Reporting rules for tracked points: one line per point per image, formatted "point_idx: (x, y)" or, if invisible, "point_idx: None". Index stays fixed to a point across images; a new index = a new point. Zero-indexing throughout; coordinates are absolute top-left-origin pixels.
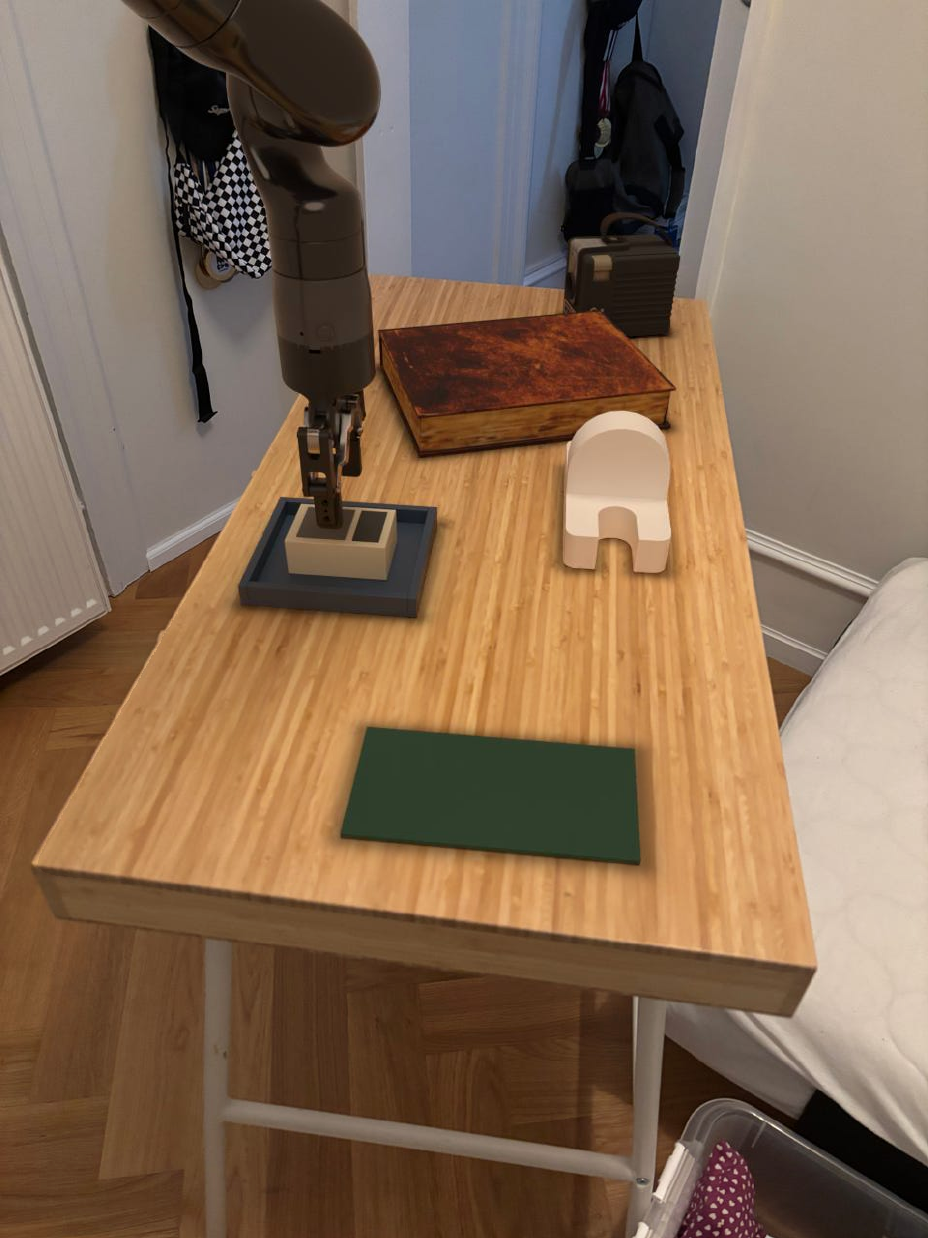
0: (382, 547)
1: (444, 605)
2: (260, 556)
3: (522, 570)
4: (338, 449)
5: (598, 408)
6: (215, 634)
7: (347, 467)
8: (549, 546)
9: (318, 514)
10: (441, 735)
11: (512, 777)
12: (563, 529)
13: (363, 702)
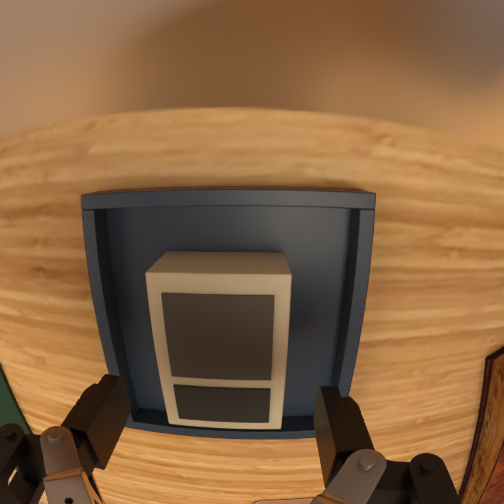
0: (169, 421)
1: None
2: (163, 206)
3: (243, 481)
4: (329, 437)
5: (477, 492)
6: (44, 179)
7: (319, 415)
8: (288, 493)
9: (77, 401)
10: (16, 410)
11: None
12: (310, 502)
13: (17, 359)
